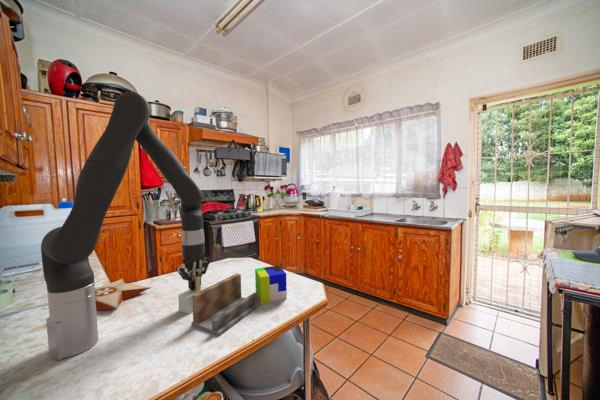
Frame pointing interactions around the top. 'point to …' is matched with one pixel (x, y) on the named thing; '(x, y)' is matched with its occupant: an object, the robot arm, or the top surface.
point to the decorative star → (116, 294)
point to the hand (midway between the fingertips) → (195, 288)
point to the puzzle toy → (270, 284)
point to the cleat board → (222, 305)
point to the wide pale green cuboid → (190, 297)
